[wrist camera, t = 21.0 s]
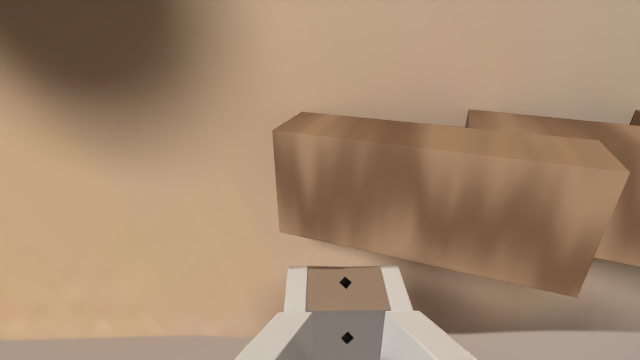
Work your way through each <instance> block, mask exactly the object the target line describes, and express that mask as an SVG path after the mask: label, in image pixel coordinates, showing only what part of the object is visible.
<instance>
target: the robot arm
mask: <svg viewBox="0 0 640 360" xmlns="http://www.w3.org/2000/svg"><path fill="white" fill-rule="evenodd" d="M234 360H478V359H477V358H476V357H474V356H473V355H472V354H471V353H469V352H468V351H467V350H466V349H465V348H464V347H462V346H461V345H460V344H459V343H458V342H456V341H455V340H454V339H453V338H452V337H450V336H449V335H448V334H447V333H446V332H444V331H443V330H442V329H441V328H440V327H438V326H437V325H436V324H435V323H434V322H432V321H431V320H430V319H429V318H428V317H426V316H425V315H424V314H423V313H422V312H420V311H414V310H413V307H412V304H411V301H410V298H409V295H408V292H407V289H406V286H405V283H404V280H403V277H402V274H401V271H400V268H399V267H398V266H397V265H391V266H379V267H378V266H364V267H324V266H308V268H307V267H301V266H289V269H288V275H287V284H286V294H285V304H284V312H278V313H277V314H276V315H275V316H274V317H273V318H272V319H271V320H270V321H269V323H268V324H267V325H266V326H265V327H264V328H263V329H262V330H261V331H260V332H259V333H258V334H257V335H256V336H255V338H254V339H253V340H252V341H251V342H250V343H249V344H248V345H247V346H246V347H245V348H244V349H243V350H242V352H241V353H240V354H239V355H238V356H237V357H236V358H235V359H234Z"/></svg>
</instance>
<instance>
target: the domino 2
mask: <svg viewBox="0 0 640 360" xmlns="http://www.w3.org/2000/svg"><path fill="white" fill-rule="evenodd" d="M465 128H474V129H485V130H495V131H506V132H516V133H527V134H537V135H548V136H559V137H569V138H580V139H590V140H599V141H600V142H601V143H602V144H603V145H604V146H605V147H606V148H607V149H608V150H609V151H610V152H611V153H612V154H613V155H614V156H615V157H616V158H617V159H618V160H619V162H620V163H621V164H622V165H623V166H624V167H625V168H626V169H627V170H628V171H629V172H630V174H629V176H628V179H627V181H626V183H625V186H624V188H623V190H622V193H621V195H620V197H619V200H618V202H617V205H616V207H615V209H614V212H613V214H612V216H611V219H610V221H609V223H608V226H607V228H606V230H605V233H604V235H603V237H602V240H601V242H600V245H599V247H598V249H597V252H596V254H595V256H594V258H599V259H604V260H609V261H614V262H619V263H623V264H628V265H633V266H638V267H640V126H634V125H623V124H613V123H603V122H592V121H582V120H571V119H561V118H551V117H540V116H530V115H520V114H509V113H499V112H489V111H478V110H469V111H468V116H467V121H466V126H465Z"/></svg>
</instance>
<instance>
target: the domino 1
mask: <svg viewBox="0 0 640 360" xmlns="http://www.w3.org/2000/svg"><path fill="white" fill-rule="evenodd" d="M272 131H273V145H274V159H275V173H276V187H277V201H278V215H279V229H280V232H283V233H287V234H292V235H296V236H301V237H305V238H310V239H314V240H319V241H323V242H328V243H332V244H337V245H341V246H346V247H350V248H355V249H359V250H364V251H368V252H373V253H378V254H382V255H387V256H391V257H396V258H400V259H405V260H409V261H414V262H418V263H423V264H427V265H432V266H436V267H441V268H445V269H450V270H454V271H459V272H463V273H468V274H472V275H477V276H481V277H486V278H490V279H495V280H500V281H504V282H509V283H513V284H518V285H522V286H527V287H531V288H536V289H540V290H545V291H549V292H554V293H558V294H563V295H567V296H572V297H576V298H577V296H578V294H579V292H580V289H581V287H582V285H583V282H584V280H585V278H586V275H587V273H588V270H589V268H590V266H591V263H592V261H593V259H594V256H595V254H596V252H597V249H598V247H599V245H600V242H601V240H602V237H603V235H604V233H605V230H606V228H607V226H608V223H609V221H610V219H611V216H612V214H613V212H614V209H615V207H616V205H617V202H618V200H619V197H620V195H621V193H622V190H623V188H624V186H625V183H626V181H627V179H628V176H629V174H630V172H629V171H628V170H627V169H626V168H625V167H624V166H623V165H622V164H621V163H620V162H619V160H618V159H617V158H616V157H615V156H614V155H613V154H612V153H611V152H610V151H609V150H608V149H607V148H606V147H605V146H604V145H603V144H602V143H601V142H600V141H599V140H590V139H580V138H569V137H559V136H548V135H537V134H527V133H516V132H506V131H495V130H485V129H474V128H464V127H453V126H443V125H432V124H422V123H411V122H400V121H390V120H379V119H369V118H358V117H348V116H337V115H327V114H316V113H306V112H301V113H300V114H298V115H296V116H295V117H293V118H292V119H290V120H288V121H287V122H285V123H284V124H282V125H280V126H279V127H277V128H276V129H274V130H272Z"/></svg>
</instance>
